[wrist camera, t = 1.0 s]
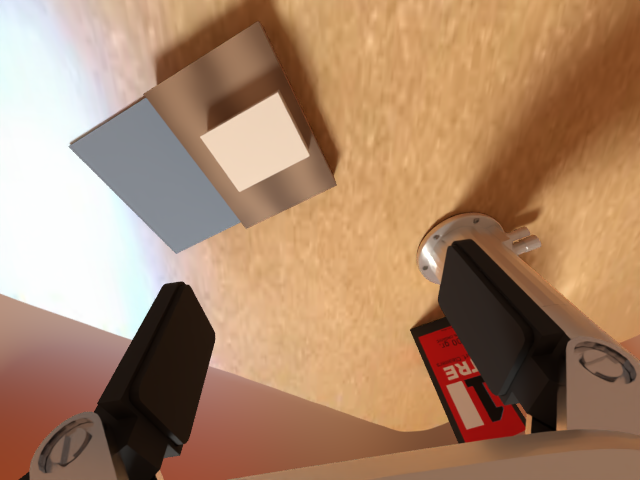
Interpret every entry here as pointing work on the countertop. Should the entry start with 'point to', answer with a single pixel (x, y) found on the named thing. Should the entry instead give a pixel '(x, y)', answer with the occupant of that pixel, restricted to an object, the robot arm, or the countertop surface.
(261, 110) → the block
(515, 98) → the countertop surface
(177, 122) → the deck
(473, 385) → the cleaning product box
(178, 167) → the mat
